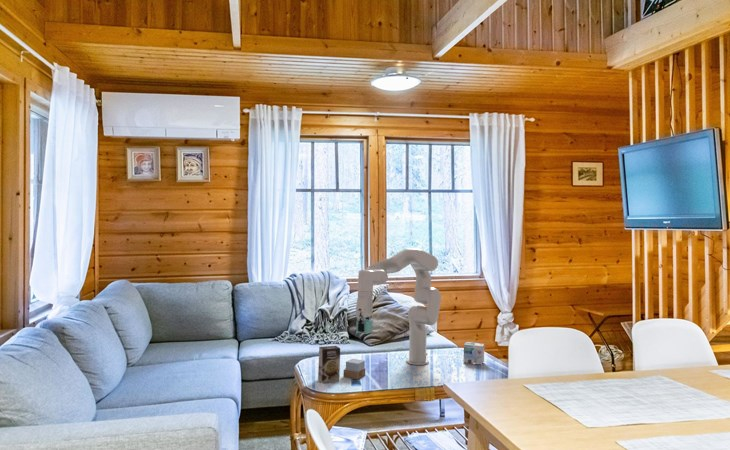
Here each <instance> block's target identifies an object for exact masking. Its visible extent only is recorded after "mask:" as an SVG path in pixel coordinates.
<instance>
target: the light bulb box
mask: <svg viewBox="0 0 730 450" xmlns="http://www.w3.org/2000/svg"><path fill="white" fill-rule="evenodd" d="M462 361H463V362H466V363H465V364H467V363H475V364H482V363H483V362H484V363H485V344H484V343H479V342H470V341H469V342H468V341H466V342H465V343H464V344H463V360H462ZM463 362H462V363H463ZM484 363H483V364H484ZM475 364H474V365H475Z"/></svg>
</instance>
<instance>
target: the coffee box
mask: <svg viewBox="0 0 730 450" xmlns="http://www.w3.org/2000/svg"><path fill="white" fill-rule="evenodd" d="M318 349H319V350H318V366H317V367H318V371H317V372H318V373H317V374H318V375H317V380H318V381H319V382H320V383H321V384H328V383H327V382H329V383H337V382H338V383H339V382H340V374H341V373H340V370H341V347H339V346H337V345H329V346H328V345H327V346H319V347H318Z"/></svg>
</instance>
